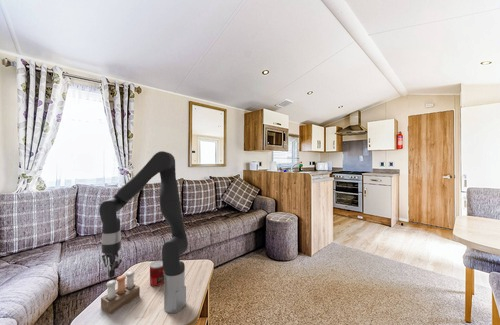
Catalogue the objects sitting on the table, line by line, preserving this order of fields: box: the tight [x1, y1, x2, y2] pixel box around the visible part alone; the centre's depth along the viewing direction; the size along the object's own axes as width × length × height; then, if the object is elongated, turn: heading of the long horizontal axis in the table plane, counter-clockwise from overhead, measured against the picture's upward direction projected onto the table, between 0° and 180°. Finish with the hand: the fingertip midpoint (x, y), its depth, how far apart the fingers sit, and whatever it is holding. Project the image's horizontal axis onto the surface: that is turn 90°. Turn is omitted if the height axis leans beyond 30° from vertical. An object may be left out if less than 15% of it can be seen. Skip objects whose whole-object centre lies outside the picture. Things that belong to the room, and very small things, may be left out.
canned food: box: [149, 260, 164, 288], centre depth 116 cm, size 8×8×11 cm
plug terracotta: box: [116, 274, 127, 295], centre depth 100 cm, size 4×4×9 cm
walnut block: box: [100, 283, 141, 315], centre depth 101 cm, size 8×14×5 cm, turn 152°
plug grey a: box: [106, 279, 117, 301], centre depth 96 cm, size 4×4×9 cm
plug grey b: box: [125, 270, 135, 290], centre depth 104 cm, size 4×4×9 cm
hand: (111, 276), depth 96 cm, fingers closed
